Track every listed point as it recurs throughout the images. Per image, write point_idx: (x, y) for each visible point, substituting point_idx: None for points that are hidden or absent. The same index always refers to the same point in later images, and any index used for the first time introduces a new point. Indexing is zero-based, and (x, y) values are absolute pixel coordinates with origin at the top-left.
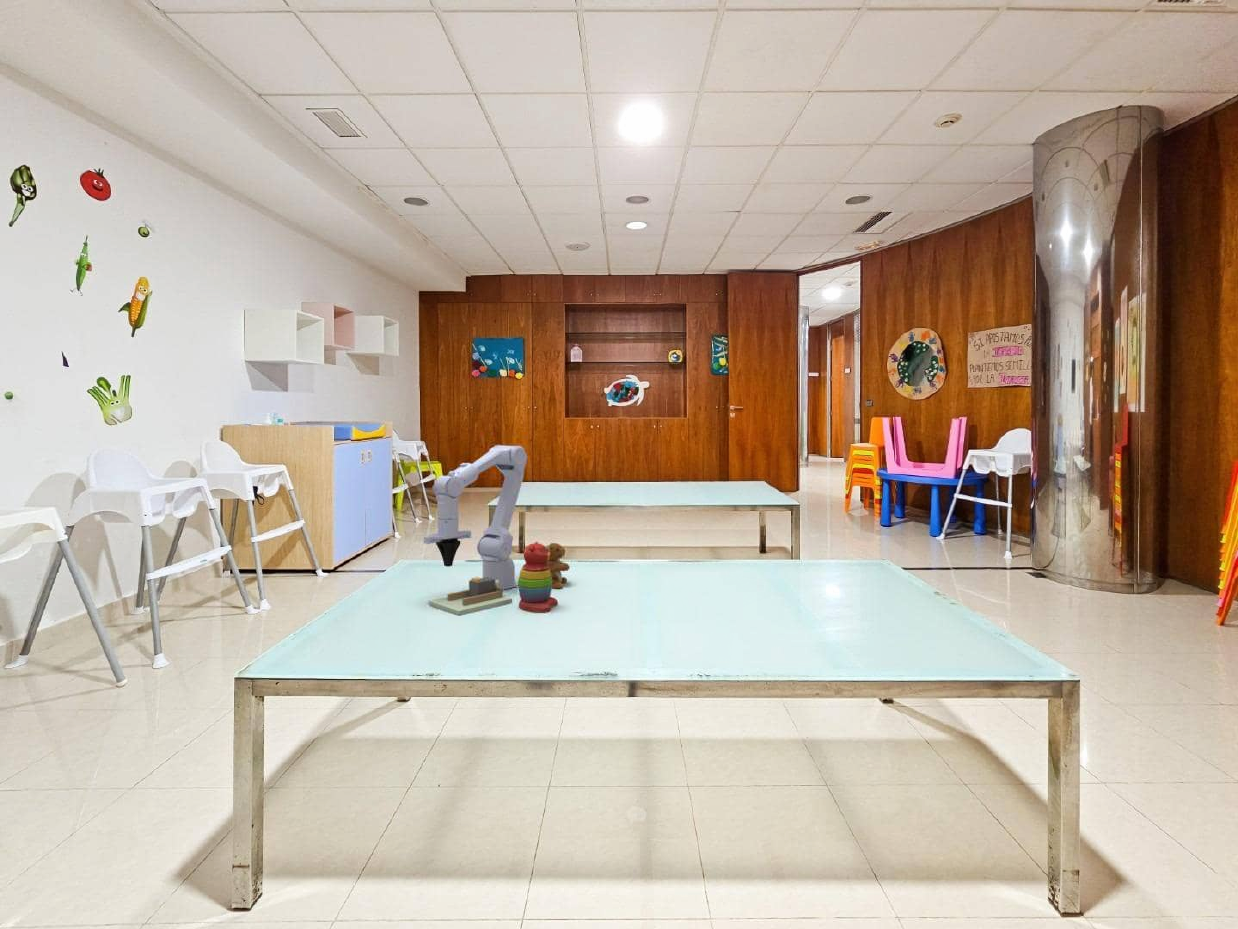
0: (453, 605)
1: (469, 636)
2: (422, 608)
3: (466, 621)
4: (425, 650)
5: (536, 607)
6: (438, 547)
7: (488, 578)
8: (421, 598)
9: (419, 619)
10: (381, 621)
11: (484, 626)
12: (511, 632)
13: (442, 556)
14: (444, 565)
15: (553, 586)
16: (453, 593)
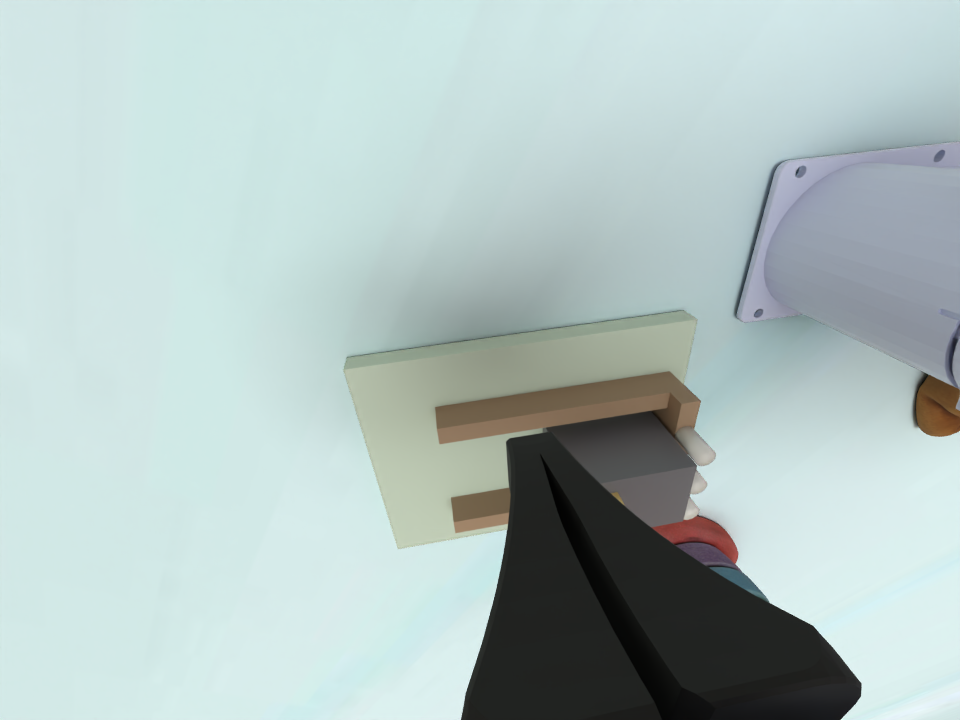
0: (418, 484)
1: (337, 667)
2: (298, 383)
3: (391, 583)
4: (191, 703)
5: None
6: (485, 645)
7: (679, 494)
8: (366, 174)
9: (238, 512)
10: (48, 472)
11: (414, 628)
12: (446, 671)
13: (513, 513)
14: (506, 447)
15: (923, 414)
16: (470, 433)
